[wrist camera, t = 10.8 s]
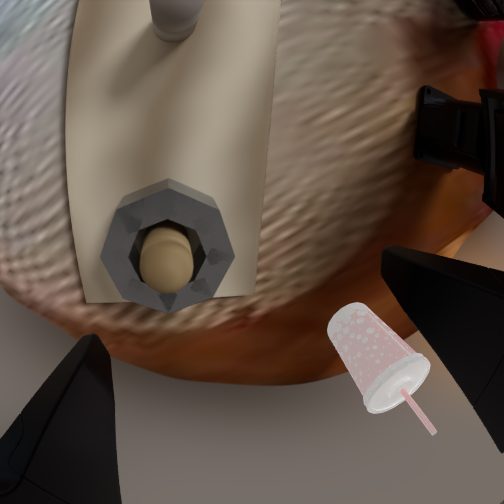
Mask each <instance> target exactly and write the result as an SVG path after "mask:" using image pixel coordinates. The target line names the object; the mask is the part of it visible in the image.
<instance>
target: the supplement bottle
mask: <svg viewBox="0 0 504 504" xmlns="http://www.w3.org/2000/svg"><path fill="white" fill-rule="evenodd" d="M455 1H456V2H457V4H458V5H459V7H460V8H461V9H462V10H463V12H464V13H465V14H466V15H468V16H469V17H470V18H472V19H473V20H476V21H504V0H455Z"/></svg>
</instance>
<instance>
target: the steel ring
mask: <svg viewBox="0 0 504 504" xmlns="http://www.w3.org/2000/svg"><path fill="white" fill-rule="evenodd" d="M166 219H169V220H172V221H174V222H177V223H179V224H182V225H184V226H186V227H189V228H191V229H194V230H196V231H197V233H198V236H199V239H200V243H199V245H198V247H197V249H196V251H195V253H194V255H193V257H192V258H193V273H192V276H191V278H190V280H189V282H188V283H187V284H186V285H185V286H184V287H183V288H182V289H180V290H179V291H176V292H173V293H160V292H157V291H155V290H153V289H151V288H150V287H149V286H148V285H147V284H146V283H145V282H144V280H143V278H142V276H141V273H140V257H141V256H140V254H139V252H138V250H137V248H136V245H135V243H134V240H135V238H136V235H137V233H138V230H141V229H143V228H146V227H148V226H151V225H153V224H156V223H158V222H161V221H163V220H166ZM234 258H235V254H234V251H233V248H232V245H231V242H230V239H229V236H228V233H227V230H226V228H225V225H224V222H223V219H222V216H221V213H220V210H219V208H218V206H217V204H216V202H215V200H214V199H213V197H211V196H209V195H206V194H204V193H202V192H200V191H197V190H195V189H193V188H191V187H188V186H186V185H184V184H182V183H179V182H177V181H175V180H172V179H170V178H167V179H165V180H162V181H159V182H157V183H154V184H152V185H149V186H147V187H144V188H142V189H140V190H137V191H135V192H132V193H130V194H128V195H125V196H123V198H122V200H121V201H120V203H119V205H118V207H117V209H116V212H115V215H114V217H113V220H112V223H111V225H110V228H109V231H108V234H107V237H106V240H105V243H104V246H103V249H102V252H101V255H100V259H101V260H102V262H103V264H104V266H105V268H106V270H107V271H108V273H109V275H110V277H111V279H112V280H113V282H114V284H115V286H116V287H117V289H118V291H119V293H120V294H121V296H122V298H123V299H125V300H128V301H131V302H134V303H137V304H140V305H143V306H146V307H149V308H152V309H155V310H159V311H162V312H165V313H168V314H169V313H171V312H174V311H177V310H180V309H183V308H185V307H188V306H191V305H193V304H196V303H199V302H202V301H204V300H207V299H210V298H212V297H213V296H214V295H215V293H216V291H217V289H218V287H219V285H220V284H221V282H222V280H223V278H224V276H225V274H226V273H227V271H228V269H229V267H230V265H231V264H232V262H233V260H234Z"/></svg>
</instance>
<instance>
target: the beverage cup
mask: <svg viewBox="0 0 504 504" xmlns="http://www.w3.org/2000/svg"><path fill="white" fill-rule="evenodd" d="M327 332H328V336H329V338H330V339H331V341H332V343H333V345H334V346H335V348H336V350H337V352H338V353H339V355H340V357H341V358H342V360H343V362H344V364H345V365H346V367H347V369H348V371H349V372H350V374H351V375H352V377H353V379H354V381H355V383H356V384H357V386H358V388H359V390H360V391H361V393H362V395H363V397H364V405H365V406H367V410H368V411H369V412H371V413H373V414H376V413H383V412H384V411H387V410H389V409H392V408H394V407H395V406H397V405H398V404H400V403H401V402H403V401H405V400H406V401H407V402H408V404H409V405H410V406H411V408H412V409H413V410H414V412H415V413H416V414H417V416H418V417H419V418H420V420H421V421H422V422H423V424H424V425H425V427H426V428H427V429H428V431H429V432H430V433H431V434H432V436H433V435H434V434H435V433H437V430H436V429H435V428H434V426H433V425H432V424H431V422H430V421H429V420H428V418H427V417H426V416H425V414H424V413H423V412H422V410H421V409H420V408H419V406H418V405H417V404H416V403H415V401H414V400H413V399H412V397H411V396H410V395H411V394H412V393H414V392H415V391H416V390H417V389H418V387H419V386H420V385H421V384H422V383H423V381H424V380H425V378H426V376H427V375H428V372H429V369H430V362H429V361H428V360H427V359H426V357H423V355H422V354H420V353H416V352H415V351H414V350H413V349H412V348H411V347H409V345H407V344H406V343H405V342H404V341H403V340H402V339H401V338H400V337H399V336H398V335H397V334H396V333H395V332H394V331H393V330H392V329H390V328H389V327H388V326H387V325H386V324H385V323H384V322H383V321H382V320H381V319H380V318H379V317H377V316H376V315H375V314H374V313H373V312H372V311H371V310H370V309H369V308H368V307H367V306H365V305H364V304H362V303H358V302H357V303H352V304H348V305H347V306H345V307H343V308H341V309H340V310H339V311H338V312H337V313H336V314H335V315H334V316H333V317H332V319H331V320H330V322H329V324H328V329H327Z"/></svg>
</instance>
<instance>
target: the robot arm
mask: <svg viewBox="0 0 504 504" xmlns="http://www.w3.org/2000/svg"><path fill="white" fill-rule="evenodd" d="M479 94H480V96H481V102H482V103H476V102H470V101H463V100H457V99H455V98H453V97H451V96H449V95H447V94H445V93H443V92H441V91H439V90H437V89H435V88H433V87H431V86H425V85H424V86H423V87H422V90H421V102H420V112H419V121H418V130H417V137H416V144H415V151H414V156H415V158H416V159H417V160H420V161H425V162H429V163H433V164H437V165H441V166H445V167H449V168H453V169H459V168H460V167H461V168H464V169H466V170H469V171H472V172H475V173H477V174H480V175H483V176H484V193H483V194H482V201H483V202H484V203H485V204H487V205H488V206H489V207H490V208H492V209H493V210H494V211H495V212H496V213H498V214H499V215H500V216H501V217H503V218H504V89H479ZM419 154H420V156H419ZM381 275H382V278H383V279H384V281H385V282H386V284H387V285H388V287H389V289H390V290H391V292H392V293H393V295H394V296H395V298H396V299H397V301H398V303H399V304H400V306H401V307H402V309H403V310H404V312H405V313H406V314H407V316H408V317H409V318H410V320H411V321H412V322H413V324H414V325H415V326H416V327H417V329H418V330H419V331H420V333H421V334H422V335H423V337H424V338H425V339H426V341H427V342H428V343H429V345H430V346H431V347H432V349H433V350H434V351H435V353H436V354H437V356H438V357H439V358H440V360H441V361H442V363H443V364H444V365H445V367H446V368H447V370H448V371H449V372H450V374H451V375H452V376H453V378H454V379H455V381H456V383H457V384H458V385H459V387H460V388H461V390H462V391H463V393H464V394H465V396H466V397H467V399H468V400H469V402H470V403H471V405H472V406H473V408H474V410H475V411H476V413H477V415H478V416H479V418H480V419H481V421H482V423H483V424H484V426H485V427H486V429H487V431H488V432H489V434H490V436H491V438H492V439H493V441H494V443H495V444H496V446H497V448H498V449H499V451H500V452H501V453H504V271H500V270H496V269H492V268H487V267H484V266H480V265H476V264H472V263H468V262H464V261H460V260H456V259H452V258H448V257H443V256H439V255H435V254H431V253H426V252H422V251H418V250H413V249H409V248H404V247H400V246H395V245H392V246H389V247H386V248H384V249H383V250H382V254H381ZM0 504H122V501H121V494H120V485H119V475H118V465H117V450H116V432H115V400H114V391H113V380H112V369H111V359H110V355H109V353H108V351H107V349H106V348H105V346H104V345H103V343H102V341H101V340H100V338H99V337H98V335H97V334H94V333H93V334H88V335H84V336H83V337H82V338H81V339H80V340H79V341H78V342H77V344H76V345H75V346H74V347H73V348H72V349H71V351H70V352H69V353H68V354H67V355H66V356H65V358H64V359H63V360H62V361H61V362H60V364H59V365H58V366H57V367H56V369H55V370H54V371H53V372H52V373H51V375H50V376H49V377H48V378H47V379H46V381H45V382H44V383H43V384H42V386H41V387H40V388H39V390H38V391H37V392H36V393H35V395H34V396H33V397H32V398H31V400H30V401H29V402H28V404H27V405H26V406H25V407H24V409H23V410H22V411H21V414H19V415H18V417H17V418H16V419H15V421H14V422H13V423H12V425H11V426H10V427H9V429H8V430H7V431H6V433H5V434H4V435H3V436H2V437H1V439H0ZM500 504H504V501H503V502H502V503H500Z"/></svg>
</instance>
